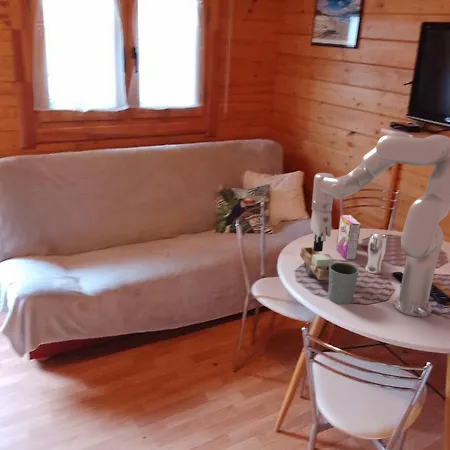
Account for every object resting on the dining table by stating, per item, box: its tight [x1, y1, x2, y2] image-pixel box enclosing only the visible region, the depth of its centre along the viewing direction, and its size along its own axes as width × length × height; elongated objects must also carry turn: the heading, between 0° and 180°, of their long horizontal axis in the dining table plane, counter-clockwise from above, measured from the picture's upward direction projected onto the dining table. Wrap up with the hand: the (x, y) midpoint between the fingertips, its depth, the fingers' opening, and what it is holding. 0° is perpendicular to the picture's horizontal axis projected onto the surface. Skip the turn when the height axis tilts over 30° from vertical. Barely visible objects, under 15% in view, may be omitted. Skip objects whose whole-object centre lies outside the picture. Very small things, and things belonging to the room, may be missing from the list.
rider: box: [312, 253, 335, 270], centre depth 188 cm, size 5×6×5 cm
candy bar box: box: [336, 214, 362, 261], centre depth 212 cm, size 11×5×16 cm, turn 9°
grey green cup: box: [327, 262, 360, 305], centre depth 176 cm, size 10×10×12 cm
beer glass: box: [364, 232, 388, 274], centre depth 199 cm, size 7×7×15 cm
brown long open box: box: [299, 246, 330, 281], centre depth 195 cm, size 22×7×7 cm, turn 10°
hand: (317, 250), depth 194 cm, fingers closed
